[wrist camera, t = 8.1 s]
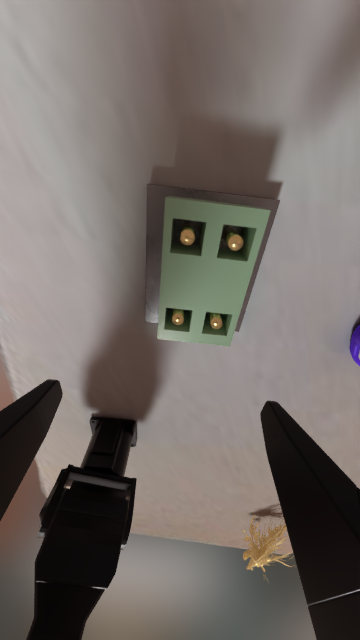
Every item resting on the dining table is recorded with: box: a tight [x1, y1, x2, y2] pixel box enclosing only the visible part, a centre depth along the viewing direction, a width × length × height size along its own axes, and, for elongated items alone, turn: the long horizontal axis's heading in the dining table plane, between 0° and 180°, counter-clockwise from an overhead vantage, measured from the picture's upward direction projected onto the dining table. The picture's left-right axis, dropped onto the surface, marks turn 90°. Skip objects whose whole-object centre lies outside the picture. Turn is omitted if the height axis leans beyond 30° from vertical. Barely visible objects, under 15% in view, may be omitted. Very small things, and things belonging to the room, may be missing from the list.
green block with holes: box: [157, 196, 271, 346], centre depth 16 cm, size 10×6×3 cm, turn 174°
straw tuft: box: [242, 514, 293, 571], centre depth 46 cm, size 11×15×9 cm
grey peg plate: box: [145, 184, 280, 332], centre depth 16 cm, size 11×9×4 cm
